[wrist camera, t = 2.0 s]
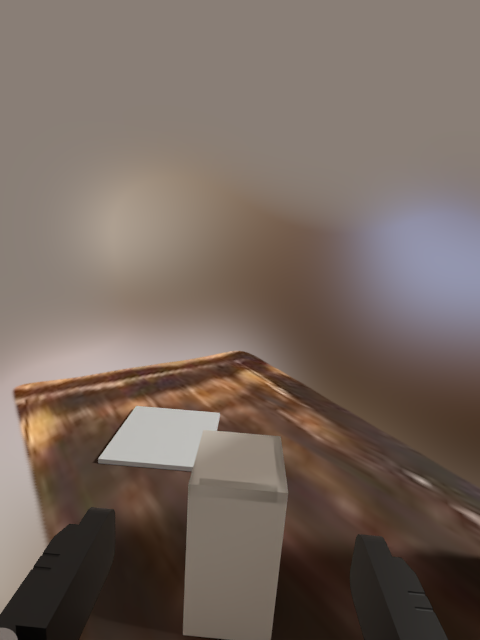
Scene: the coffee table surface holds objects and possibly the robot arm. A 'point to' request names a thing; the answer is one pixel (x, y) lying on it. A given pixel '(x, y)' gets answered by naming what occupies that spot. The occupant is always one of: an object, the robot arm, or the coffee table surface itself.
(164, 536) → the coffee table surface
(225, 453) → the cream box
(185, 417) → the grey mat
